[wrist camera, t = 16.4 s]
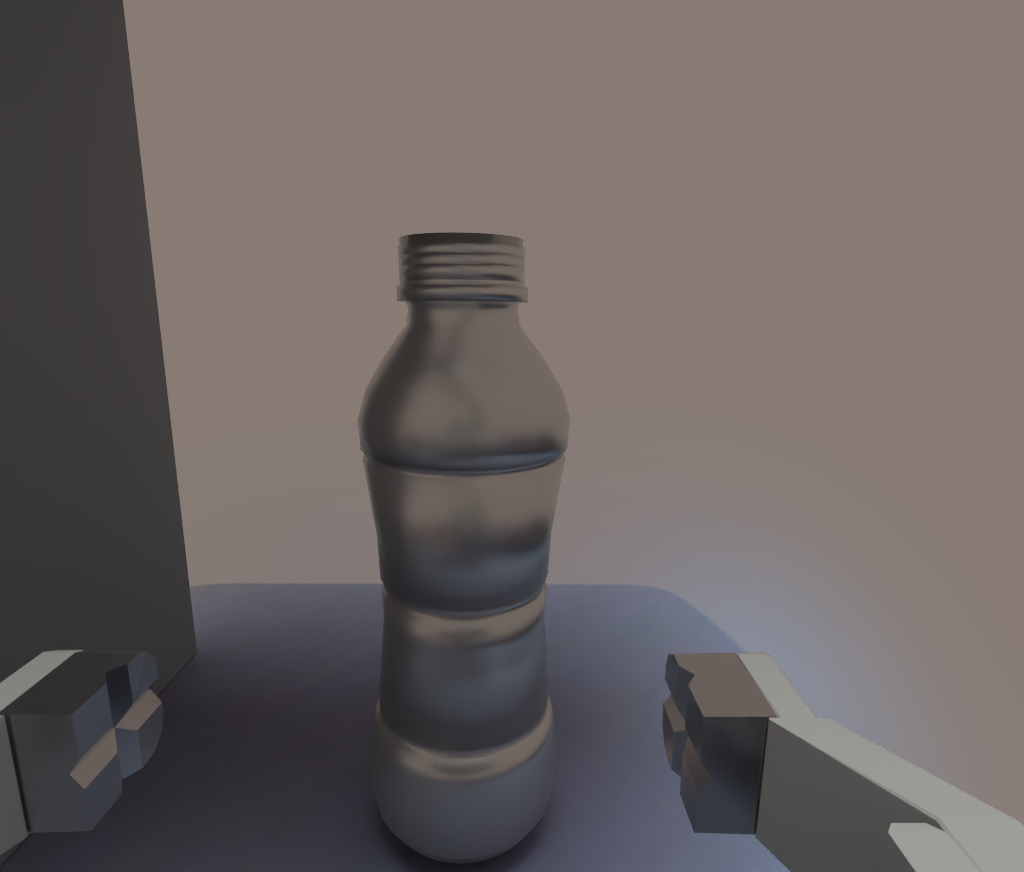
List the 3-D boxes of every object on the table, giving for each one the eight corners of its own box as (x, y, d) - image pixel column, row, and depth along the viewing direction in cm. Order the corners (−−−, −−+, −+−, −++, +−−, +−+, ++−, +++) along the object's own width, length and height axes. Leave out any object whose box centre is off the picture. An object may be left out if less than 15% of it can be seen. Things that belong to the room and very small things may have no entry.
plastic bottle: (418, 733, 26) (405, 251, 21) (573, 769, 24) (592, 248, 20) (334, 864, 20) (292, 229, 15) (532, 925, 18) (547, 220, 13)
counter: (-291, 1089, 14) (-1227, -1445, 6) (159, 652, 31) (55, -151, 24) (820, 1097, 14) (1221, -1412, 6) (647, 656, 31) (699, -144, 24)
